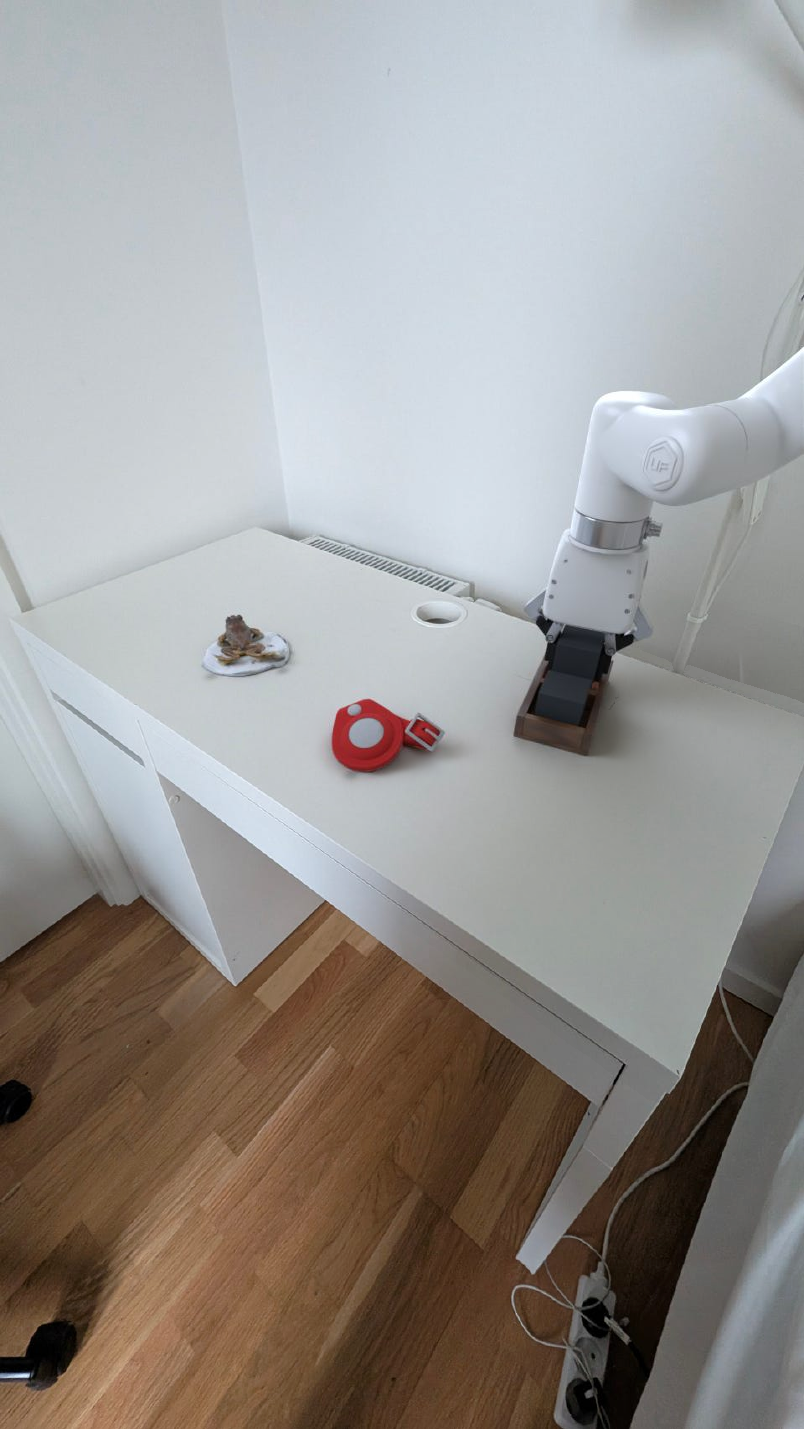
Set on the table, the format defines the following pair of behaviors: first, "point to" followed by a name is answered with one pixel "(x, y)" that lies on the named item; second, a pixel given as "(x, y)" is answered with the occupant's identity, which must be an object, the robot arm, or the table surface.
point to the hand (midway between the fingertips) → (574, 669)
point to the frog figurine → (245, 650)
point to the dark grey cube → (563, 698)
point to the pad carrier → (554, 730)
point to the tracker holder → (378, 735)
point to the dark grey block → (578, 652)
